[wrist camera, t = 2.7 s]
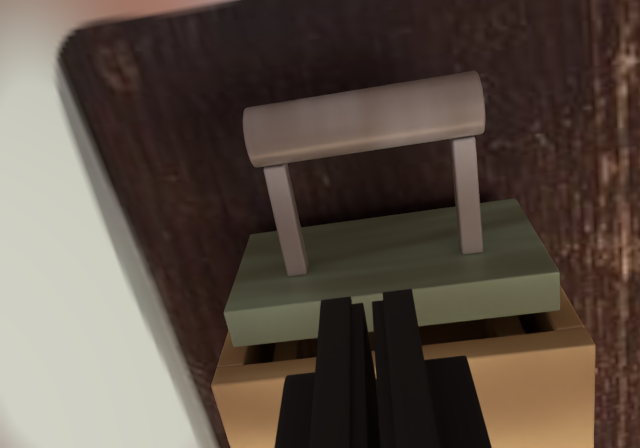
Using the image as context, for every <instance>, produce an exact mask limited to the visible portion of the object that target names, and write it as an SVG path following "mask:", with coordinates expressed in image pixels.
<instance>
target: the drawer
mask: <svg viewBox="0 0 640 448" xmlns="http://www.w3.org/2000/svg"><path fill="white" fill-rule="evenodd" d="M484 128H485V104H484V96H483V89H482V85H481V81H480V78H479V75H478V73H477V72H476V71H470V72H464V73H457V74H451V75H445V76H439V77H433V78H427V79H420V80H414V81H408V82H402V83H396V84H389V85H383V86H377V87H371V88H365V89H358V90H352V91H346V92H340V93H334V94H328V95H321V96H315V97H309V98H303V99H297V100H290V101H284V102H278V103H272V104H266V105H259V106H253V107H247V108H246V109H245V110H244V113H243V132H244V139H245V144H246V149H247V152H248V155H249V158H250V161H251V163H252V164H253V166H254V167H257V168H258V167H264V166H265V167H264V175H265V179H266V183H267V188H268V192H269V197H270V201H271V205H272V210H273V214H274V219H275V223H276V227H277V231H272V232H265V233H257V234H251V235H250V237H249V240H248V243H247V246H246V249H245V252H244V255H243V258H242V261H241V263H240V266H239V269H238V272H237V275H236V278H235V281H234V284H233V287H232V290H231V293H230V296H229V298H228V301H227V304H226V307H225V310H224V316H225V320H226V323H227V327H228V330H229V334H230V337H231V341H232V344H233V347H242V346H251V345H259V344H268V343H276V344H275V349H274V354H273V359H272V362H276V361H285V360H294V359H303V358H312V357H316V354H317V342H318V329H319V317H320V305H321V300H325V299H333V298H341V297H349V296H350V297H351V299H352V304H356V303H363V305H364V310H365V316H366V322H367V328H368V334H369V339H370V345H371V351H375V347H374V329H373V312H372V301H381V300H383V292H389V291H397V290H405V289H412V292H413V298H414V304H415V309H416V315H417V321H418V327H419V332H420V338H421V344H422V345H430V344H440V343H449V342H458V341H467V340H476V339H485V338H494V337H503V336H512V335H522V334H526V333H525V331H524V329H523V326H522V324H521V321H520V319H519V317H518V315H524V314H532V313H541V312H550V311H559V310H560V272H559V270H558V269H557V267H556V265H555V264H554V262H553V260H552V259H551V257H550V255H549V253H548V252H547V250H546V248H545V247H544V245H543V243H542V242H541V240H540V238H539V237H538V235H537V233H536V232H535V230H534V228H533V227H532V225H531V223H530V222H529V220H528V218H527V217H526V215H525V213H524V212H523V210H522V208H521V207H520V205H519V203H518V202H517V200H516V199H507V200H500V201H493V202H485V203H480V198H479V184H478V169H477V155H476V141H475V137H474V136H473V135H479V134H482V133H483V132H484ZM445 139H450V150H451V161H452V172H453V183H454V195H455V206H456V207H448V208H441V209H434V210H426V211H419V212H412V213H404V214H397V215H390V216H382V217H375V218H368V219H360V220H353V221H345V222H338V223H331V224H323V225H316V226H309V227H301V226H300V221H299V216H298V211H297V207H296V202H295V197H294V192H293V187H292V183H291V178H290V173H289V168H288V163H291V162H298V161H305V160H311V159H318V158H325V157H332V156H338V155H345V154H352V153H358V152H365V151H372V150H378V149H385V148H392V147H399V146H405V145H412V144H419V143H425V142H432V141H439V140H445Z"/></svg>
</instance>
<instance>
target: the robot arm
mask: <svg viewBox="0 0 640 448" xmlns="http://www.w3.org/2000/svg"><path fill="white" fill-rule="evenodd" d="M372 312H373V329H374V347H375V364H376V375H375V369H374V363H373V357H372V351H371V345H370V339H369V334H368V328H367V322H366V316H365V310H364V305H363V303H356V304H352V299H351V297H350V296H349V297H341V298H333V299H325V300H321V305H320V317H319V329H318V342H317V354H316V366H315V372H311V373H302V374H294V375H287V376H286V377H285V381H284V386H283V393H282V400H281V407H280V413H279V420H278V427H277V434H276V440H275V447H274V448H492V446H491V443H490V439H489V436H488V432H487V428H486V425H485V421H484V417H483V414H482V410H481V407H480V403H479V399H478V396H477V392H476V388H475V385H474V381H473V378H472V374H471V370H470V367H469V363H468V360H467V357H466V356H465V355H464V356H455V357H446V358H437V359H428V360H424V356H423V350H422V344H421V338H420V332H419V327H418V321H417V315H416V309H415V304H414V298H413V292H412V289H405V290H397V291H389V292H383V300H381V301H372Z"/></svg>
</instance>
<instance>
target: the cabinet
mask: <svg viewBox="0 0 640 448" xmlns="http://www.w3.org/2000/svg"><path fill="white" fill-rule="evenodd" d="M518 317H519V319H520V321H521V324H522V326H523V329H524V331H525V333H526V334H522V335H512V336H503V337H494V338H485V339H476V340H467V341H458V342H449V343H440V344H430V345H422V350H423V356H424V360H428V359H437V358H446V357H455V356H464V355H465V356H466V357H467V360H468V363H469V367H470V370H471V374H472V378H473V381H474V385H475V388H476V392H477V396H478V399H479V403H480V407H481V410H482V414H483V417H484V421H485V425H486V428H487V432H488V436H489V439H490V443H491V446H492V448H594V397H595V344H594V342H593V340H592V339H591V337H590V335H589V333H588V332H587V330H586V328H584V325H583V324H582V322H581V320H580V319H579V317H578V315H577V313H576V312H575V310H574V308H573V306H572V305H571V303H570V301H569V300H568V298H567V296H566V294H565V293H564V291H563V289H562V287H561V286H560V310H559V311H550V312H541V313H532V314H524V315H518ZM275 344H276V343H268V344H259V345H251V346H242V347H233V344H232V341H231V337H230V334H229V330H228V333H227V337H226V340H225V343H224V346H223V349H222V352H221V356H220V359H219V362H218V365H217V369H216V372H215V375H214V378H213V381H212V384H211V387H212V391H213V394H214V397H215V400H216V403H217V407H218V410H219V413H220V416H221V419H222V422H223V426H224V429H225V432H226V435H227V438H228V441H229V445H230V448H274V447H275V440H276V434H277V427H278V420H279V413H280V407H281V400H282V393H283V386H284V381H285V377H286V376H287V375H294V374H302V373H311V372H315V366H316V357H312V358H303V359H294V360H285V361H276V362H272V359H273V354H274V349H275ZM372 357H373V363H374V369H375V375H376V364H375V351H372Z"/></svg>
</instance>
